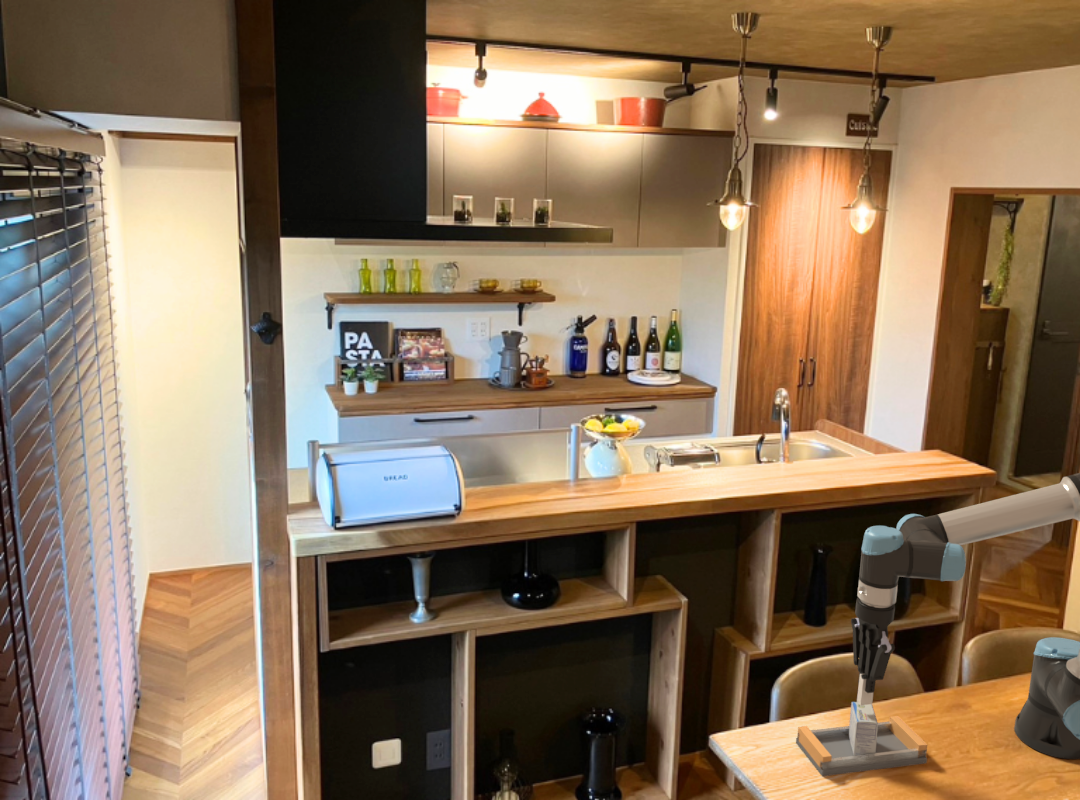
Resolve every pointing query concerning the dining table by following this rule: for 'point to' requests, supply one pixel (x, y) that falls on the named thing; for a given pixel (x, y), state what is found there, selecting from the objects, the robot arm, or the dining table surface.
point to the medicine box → (863, 729)
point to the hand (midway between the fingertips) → (864, 702)
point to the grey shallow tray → (892, 750)
